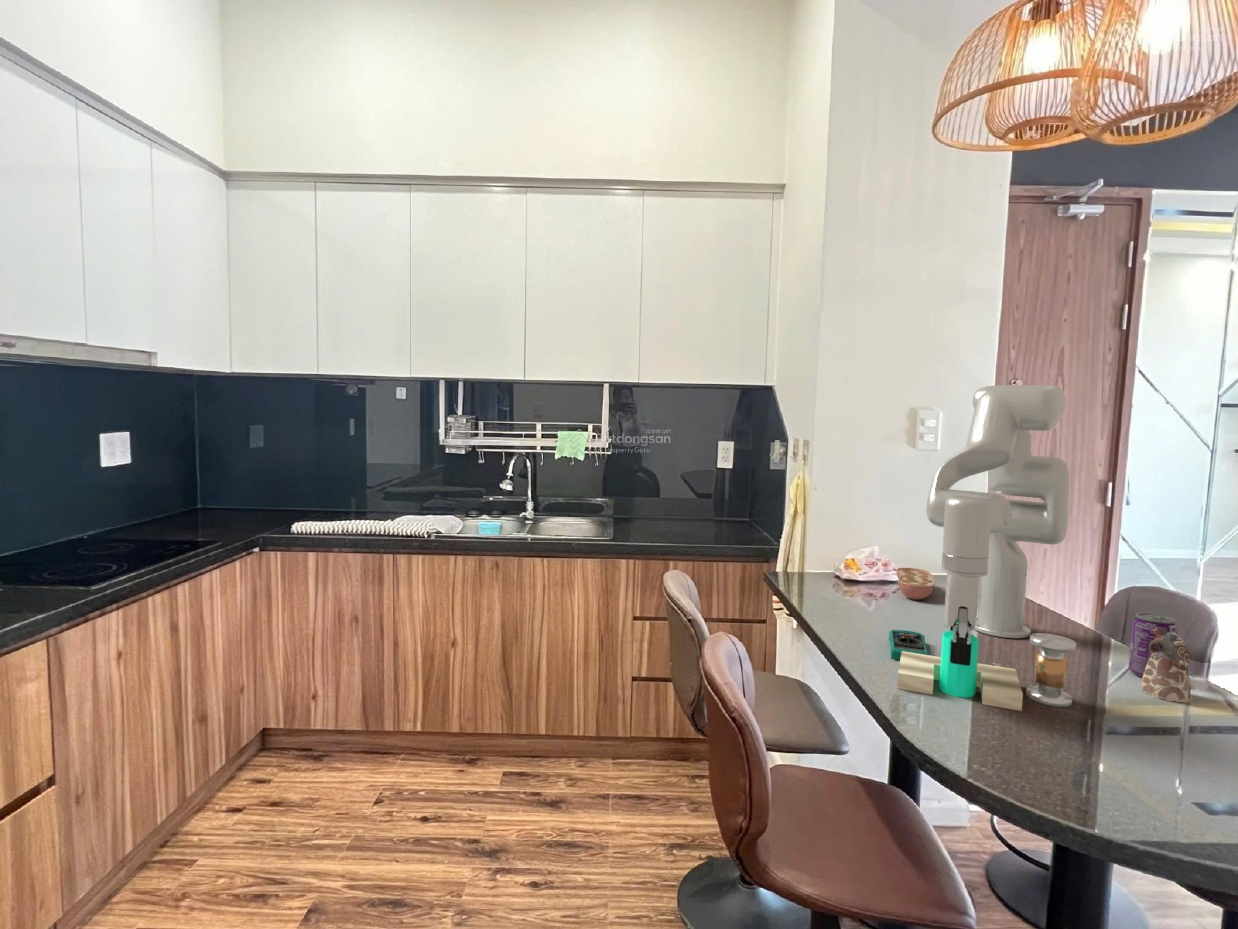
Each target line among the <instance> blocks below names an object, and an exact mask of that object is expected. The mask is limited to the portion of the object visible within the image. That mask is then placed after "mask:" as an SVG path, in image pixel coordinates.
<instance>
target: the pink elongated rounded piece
mask: <svg viewBox="0 0 1238 929" xmlns="http://www.w3.org/2000/svg"><path fill="white" fill-rule="evenodd" d="M896 576H897V578H898V587H899V589H900V592H901V593H902V594H903V595H904V596H905V597H907V598H908V599H911V600H914V601H920V600H924V599H927V598H928V597H929V596H931V595H932V592H933V590H934V587H935V585H936V579H935V576H934V575H933V574H932V573H931V572H929V571H927V570H925V569H920V568H915V567H914V568H913V567H900V568H897V569H896Z"/></svg>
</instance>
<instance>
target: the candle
mask: <svg viewBox="0 0 1238 929" xmlns="http://www.w3.org/2000/svg"><path fill="white" fill-rule="evenodd" d="M956 637H957V635H956ZM941 639H942V640H941V654H940V657H941V667H940V681H939V684H938V685H939V690H940V691H941V692H942V693H944V694H946V695H949V696H953V697H955V698H956V697H957V698H963V699H965V698H973V697H974V696H976V692H977V691H976V689H977V687H976V677H977V663H978V659H979V658H978V657H979V643H980V638H977V637H976V636H974V634H972V633H970V643H971V660H970V665H969V666H966V665H960V664H953V663H951V662H950V653H951V640H952V641H953V631H950V630H947V631H944V632H942V638H941Z"/></svg>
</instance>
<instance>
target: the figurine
mask: <svg viewBox="0 0 1238 929" xmlns="http://www.w3.org/2000/svg"><path fill="white" fill-rule="evenodd" d="M1153 633H1154V635H1155V636H1156V639H1154V640H1153V641H1152V642H1151V643H1150V645H1149V650H1150V653H1151V657H1150V659H1149V661H1148V663H1147V665H1146V668H1145V671H1144V674H1143V678H1142V677H1141V689H1142V691H1144V692H1146V693H1147V694H1146V693H1145V694H1146V695H1148V694H1149V695H1148V696H1150V695H1153V696H1155V697H1157V698H1162V699H1165V700H1164V701H1166V700H1170V701H1169V702H1171V701H1176V702H1175V703H1179V702H1186V703H1190V701H1191V690H1192V688H1191V684H1190V676H1189V668H1188V664H1189V663H1190V662H1191V659H1190V658H1191V657H1192V654H1191V653H1190V651H1189V650H1188V649H1187V644H1186V642H1185V641H1184V640H1183V638H1182V637H1181V636H1180V635H1179V634H1176V633H1175V632H1168V633H1166V634H1165V635H1164V634H1163V633H1162V632H1161V631H1160V630H1159V629H1158V628H1156V629H1154V630H1153ZM1156 645H1160V646H1161V648H1162V651H1161V652H1158V651H1156V649H1155V646H1156ZM1144 692H1143V693H1144ZM1157 698H1156V699H1157Z"/></svg>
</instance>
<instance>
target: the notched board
mask: <svg viewBox="0 0 1238 929" xmlns="http://www.w3.org/2000/svg"><path fill="white" fill-rule="evenodd" d="M940 667H941V656H935V655H930V654H929V655H924V654H917V653H911V652H905V651H902V653H901V658H900V661H899V665H898V671H897V681H896V682H897V684H896V687H897V688H896V689H899V690H904V691H909V692H915V693H920V694H924V695H925V694H926V695H930V696H933V695H934V694H933V692H934V681H938V682H940ZM1019 680H1020V679H1019V677H1018V673H1017V670H1016V668H1012V667H1011V668H1010V667H1004V666H998V665H997V666H996V665H991V664H986V663H985V664H984V663H979V662H977V677H976V688H979V689H980V696H981V704H982V705H985V706H991V707H997V708H1003V709H1007V710H1014V711H1018V712H1023V698H1024V697H1023V696H1024V693H1023V691H1022V690H1023V689H1022V688H1021V687H1022V686H1021V682H1020V681H1019Z"/></svg>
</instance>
